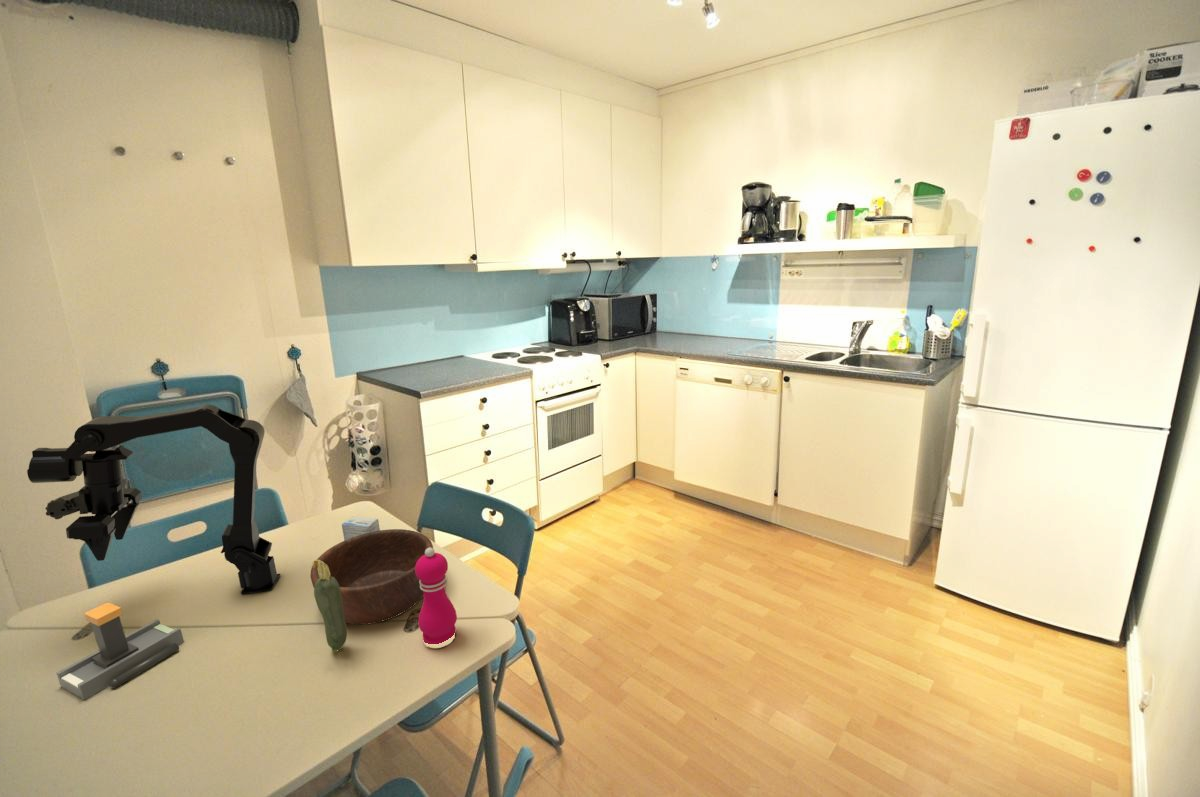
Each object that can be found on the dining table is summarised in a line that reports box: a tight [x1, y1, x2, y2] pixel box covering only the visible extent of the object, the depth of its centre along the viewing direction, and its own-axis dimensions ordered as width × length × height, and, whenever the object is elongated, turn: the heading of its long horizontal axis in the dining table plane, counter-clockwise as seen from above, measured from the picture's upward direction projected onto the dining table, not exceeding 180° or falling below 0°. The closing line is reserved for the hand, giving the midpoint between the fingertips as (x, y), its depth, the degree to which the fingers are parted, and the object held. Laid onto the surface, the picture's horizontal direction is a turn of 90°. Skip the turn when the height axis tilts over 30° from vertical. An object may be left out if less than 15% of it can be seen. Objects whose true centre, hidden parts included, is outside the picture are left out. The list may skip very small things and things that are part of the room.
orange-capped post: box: [83, 601, 139, 668], centre depth 100 cm, size 5×5×10 cm
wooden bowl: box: [310, 528, 434, 625], centre depth 120 cm, size 25×25×10 cm
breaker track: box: [56, 618, 185, 701], centre depth 103 cm, size 16×13×3 cm
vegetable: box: [312, 559, 348, 652], centre depth 102 cm, size 4×4×20 cm
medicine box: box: [341, 515, 381, 541], centre depth 140 cm, size 8×4×9 cm, turn 77°
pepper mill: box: [415, 547, 458, 644], centre depth 105 cm, size 7×7×20 cm
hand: (110, 549), depth 114 cm, fingers open, 9 cm apart
